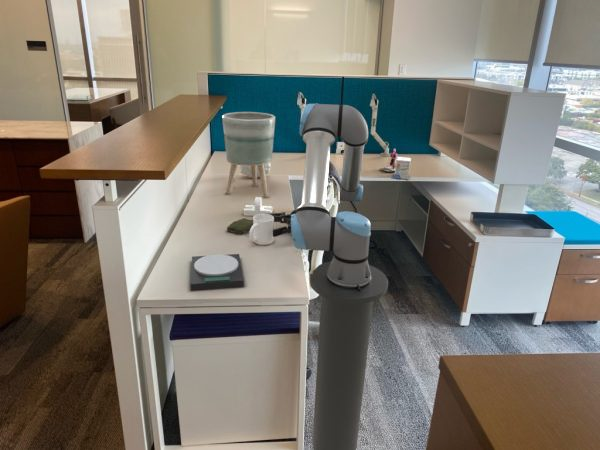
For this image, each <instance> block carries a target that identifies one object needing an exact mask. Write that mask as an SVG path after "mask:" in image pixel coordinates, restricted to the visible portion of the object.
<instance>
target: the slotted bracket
mask: <svg viewBox="0 0 600 450" xmlns="http://www.w3.org/2000/svg"><path fill="white" fill-rule="evenodd" d="M273 209H274V208H273V206H272V205H263V197H261V196H260V197H259V196H255V198H254V205H253V204H252V205H251V204H246V205H244V208H243V216H248V217H249V216H250V217H251V216H252V217H254V216H255V215H258V214H269V213H274V212H273V211H274V210H273Z"/></svg>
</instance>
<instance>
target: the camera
mask: <svg viewBox="0 0 600 450" xmlns="http://www.w3.org/2000/svg"><path fill="white" fill-rule="evenodd" d="M271 166H272V165H271V162H270V163H268V164H264V170H265V176H266V175H268V174H270V173H271ZM239 172H240V174H242V175H245V176H247V178H251V179H252V172H251V166H243V165H239ZM256 172H257V179H258V178H260V175H259V171H258V166H256Z"/></svg>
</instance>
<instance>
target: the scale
mask: <svg viewBox="0 0 600 450" xmlns="http://www.w3.org/2000/svg"><path fill="white" fill-rule="evenodd" d="M190 266H191V268H190V291H202V290H203V291H204V290H217V289H219V290H220V289H230V288H244V287H245V279H244V273H243V269H242V262H241V257H240V253H232V254H231V253H229V254H222V253H221V254H220V253H219V254H217V253H216V254H209V255H198V256H197V255H195V256H191V265H190Z"/></svg>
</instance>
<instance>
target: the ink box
mask: <svg viewBox="0 0 600 450" xmlns="http://www.w3.org/2000/svg"><path fill="white" fill-rule="evenodd" d="M411 161H412V158H411V157H404V156H397V158H396V166H395V171H394V177H393V178H394V179H401V180H409V176H410V168H411Z"/></svg>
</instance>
